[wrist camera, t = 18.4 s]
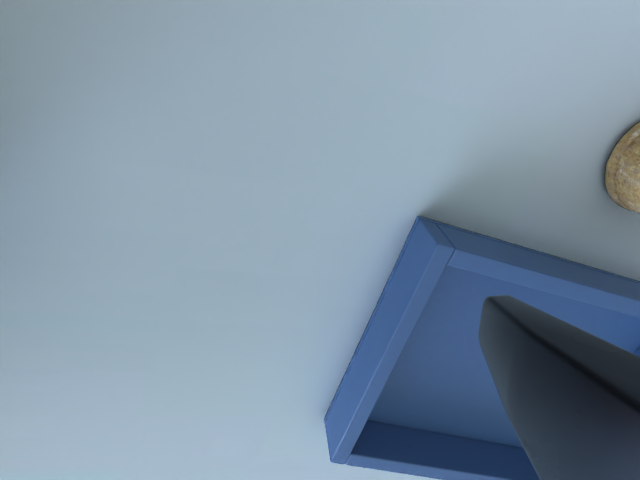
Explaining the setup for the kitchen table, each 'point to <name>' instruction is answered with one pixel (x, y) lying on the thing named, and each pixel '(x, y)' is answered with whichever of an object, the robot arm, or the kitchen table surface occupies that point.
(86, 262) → the kitchen table surface
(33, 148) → the kitchen table surface
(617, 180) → the sprinkles bottle
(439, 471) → the tray
